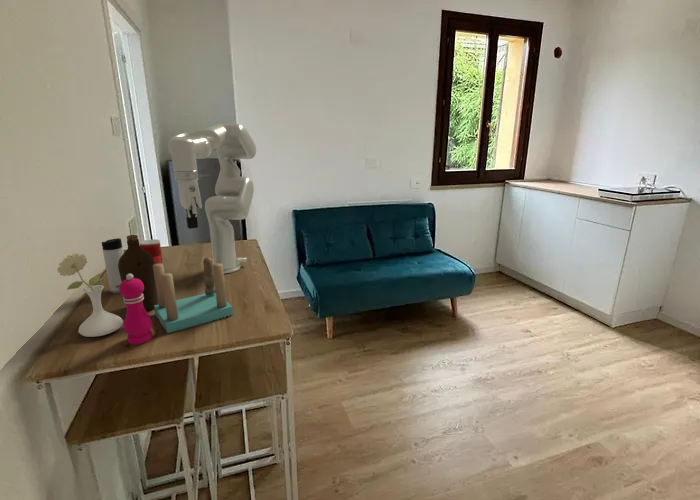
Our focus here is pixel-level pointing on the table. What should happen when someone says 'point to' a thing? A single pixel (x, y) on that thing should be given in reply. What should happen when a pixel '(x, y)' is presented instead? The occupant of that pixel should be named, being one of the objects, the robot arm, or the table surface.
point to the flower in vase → (99, 319)
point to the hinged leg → (209, 276)
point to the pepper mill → (135, 311)
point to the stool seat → (189, 302)
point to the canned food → (153, 249)
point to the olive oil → (139, 270)
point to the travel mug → (113, 262)
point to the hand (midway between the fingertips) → (192, 227)
